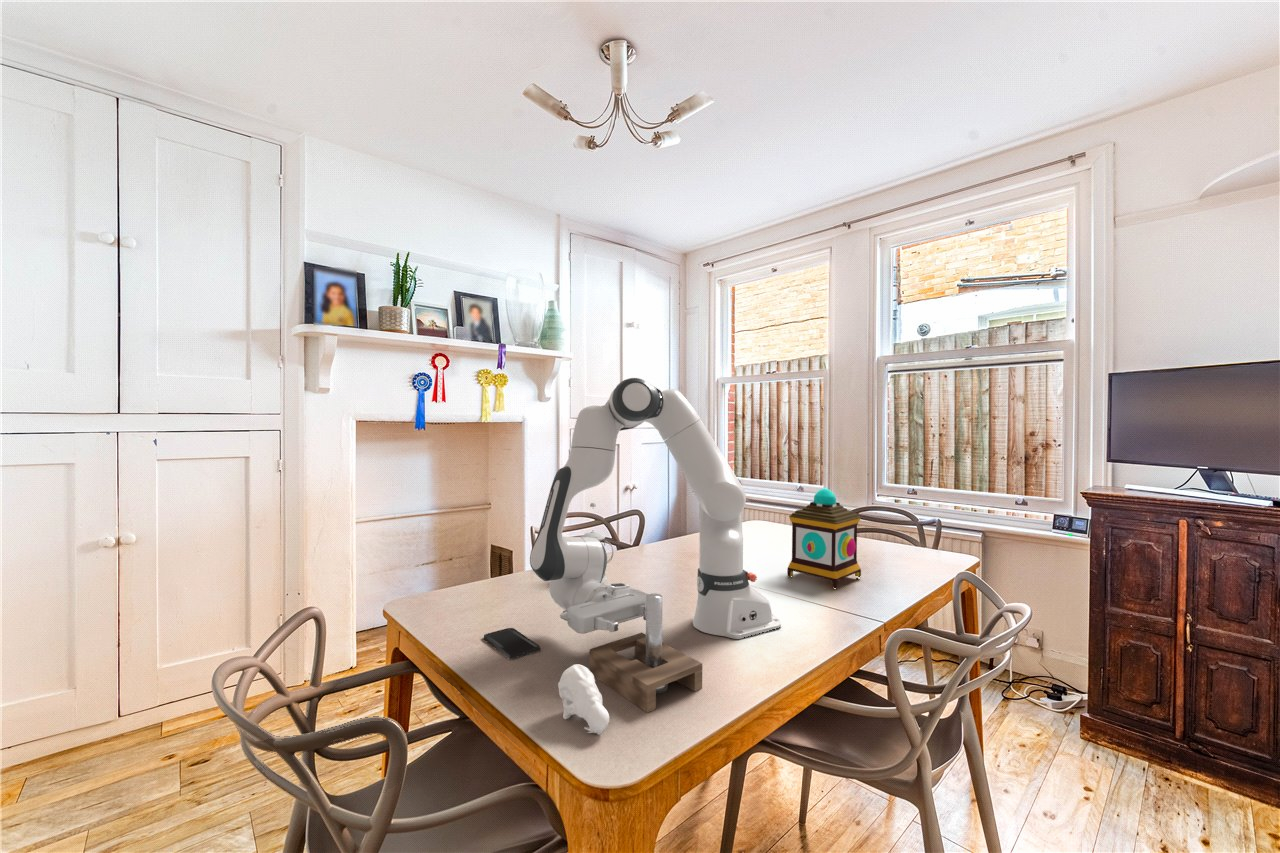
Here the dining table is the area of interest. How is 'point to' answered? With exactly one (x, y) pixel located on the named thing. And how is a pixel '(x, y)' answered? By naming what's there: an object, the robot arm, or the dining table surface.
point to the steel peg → (654, 633)
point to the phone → (511, 643)
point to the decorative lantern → (824, 539)
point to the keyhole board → (642, 670)
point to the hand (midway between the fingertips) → (633, 622)
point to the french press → (599, 537)
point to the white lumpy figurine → (583, 698)
